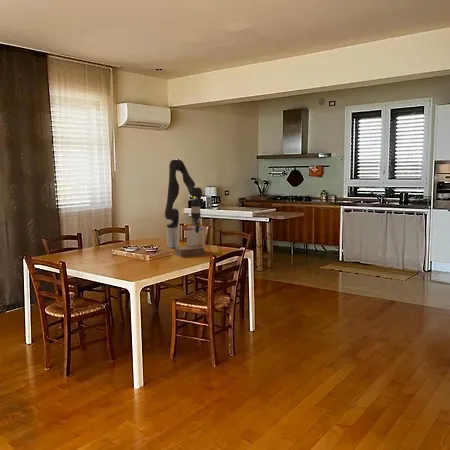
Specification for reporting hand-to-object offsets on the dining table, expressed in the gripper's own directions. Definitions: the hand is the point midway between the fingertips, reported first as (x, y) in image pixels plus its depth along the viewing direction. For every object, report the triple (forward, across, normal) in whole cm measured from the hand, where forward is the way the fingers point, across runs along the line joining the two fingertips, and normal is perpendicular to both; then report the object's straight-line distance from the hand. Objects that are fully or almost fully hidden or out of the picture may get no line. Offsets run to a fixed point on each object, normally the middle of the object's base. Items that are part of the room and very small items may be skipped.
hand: (195, 232), depth 390 cm
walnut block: (+16, +13, -9) cm, 23 cm away
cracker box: (+16, 0, 0) cm, 16 cm away
